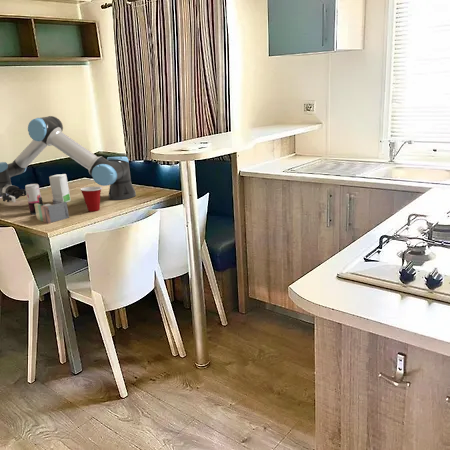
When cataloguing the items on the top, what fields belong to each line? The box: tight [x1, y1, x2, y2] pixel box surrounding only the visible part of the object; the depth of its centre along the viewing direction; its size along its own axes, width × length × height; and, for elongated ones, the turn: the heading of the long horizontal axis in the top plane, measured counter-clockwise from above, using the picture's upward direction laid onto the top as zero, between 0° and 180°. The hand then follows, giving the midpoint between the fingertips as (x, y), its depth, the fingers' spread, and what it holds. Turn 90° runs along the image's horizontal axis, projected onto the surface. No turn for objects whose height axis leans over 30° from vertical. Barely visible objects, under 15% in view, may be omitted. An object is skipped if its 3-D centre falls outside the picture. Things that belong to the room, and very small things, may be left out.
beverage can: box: [24, 183, 42, 215], centre depth 246 cm, size 6×7×15 cm
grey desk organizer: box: [34, 198, 70, 224], centre depth 235 cm, size 12×11×8 cm
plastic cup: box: [80, 186, 103, 213], centre depth 245 cm, size 11×11×12 cm
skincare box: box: [48, 173, 72, 203], centre depth 266 cm, size 8×7×16 cm
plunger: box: [38, 196, 52, 206], centre depth 239 cm, size 10×6×10 cm, turn 45°
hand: (27, 196), depth 251 cm, fingers open, 13 cm apart
